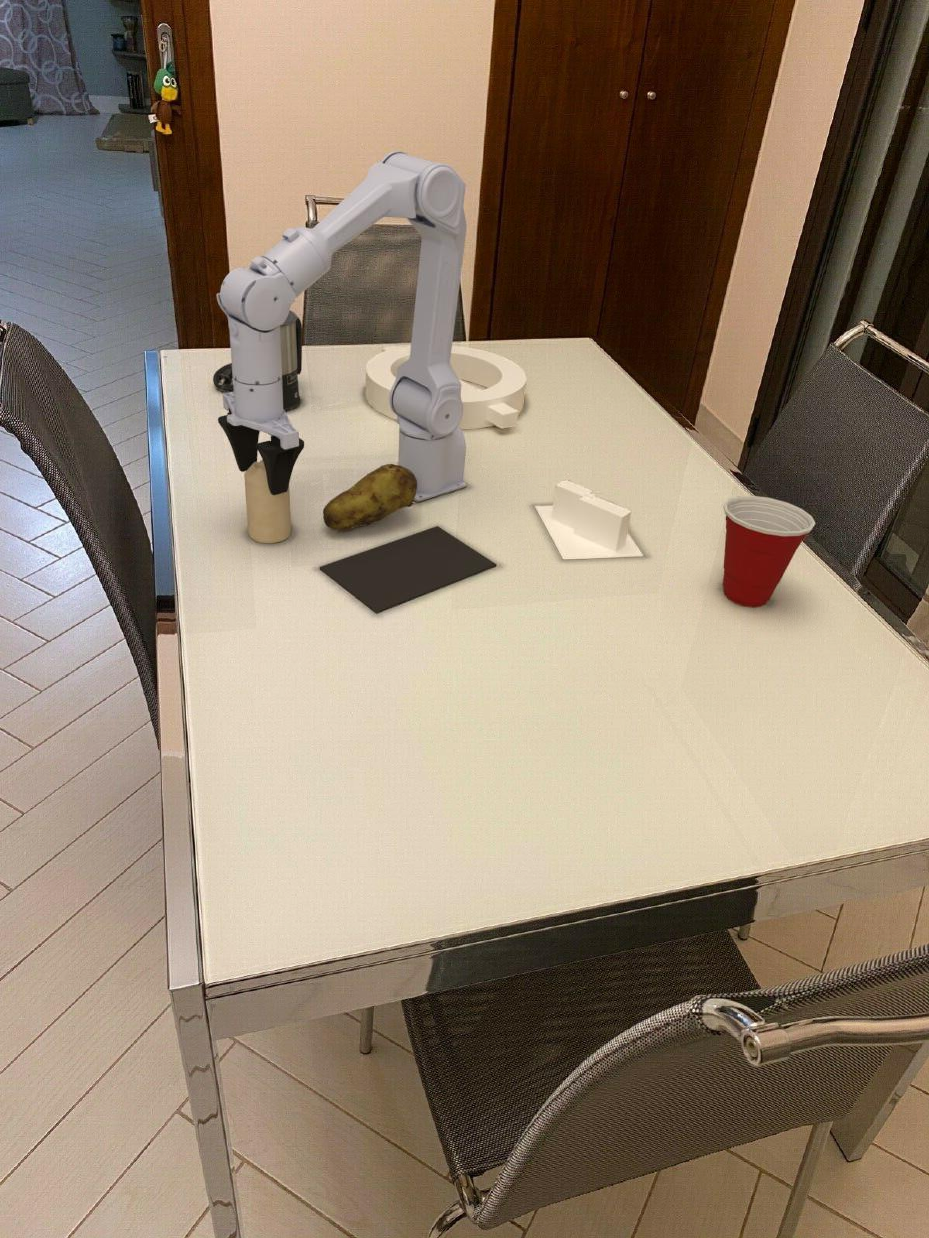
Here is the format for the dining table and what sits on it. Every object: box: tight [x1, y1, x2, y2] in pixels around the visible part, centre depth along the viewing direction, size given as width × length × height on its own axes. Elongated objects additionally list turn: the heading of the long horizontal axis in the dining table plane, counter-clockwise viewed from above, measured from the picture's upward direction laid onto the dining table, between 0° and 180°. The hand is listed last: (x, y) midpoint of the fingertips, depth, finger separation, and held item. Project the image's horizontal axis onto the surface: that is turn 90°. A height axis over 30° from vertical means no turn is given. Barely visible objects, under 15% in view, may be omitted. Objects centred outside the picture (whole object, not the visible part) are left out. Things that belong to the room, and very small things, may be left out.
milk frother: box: [212, 309, 303, 412], centre depth 157 cm, size 14×16×15 cm
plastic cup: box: [722, 495, 817, 608], centre depth 116 cm, size 11×11×12 cm
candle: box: [243, 459, 292, 544], centre depth 120 cm, size 6×6×10 cm
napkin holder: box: [534, 479, 644, 560], centre depth 129 cm, size 15×11×6 cm
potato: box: [322, 463, 417, 532], centre depth 125 cm, size 8×13×8 cm, turn 102°
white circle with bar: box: [365, 344, 527, 430], centre depth 166 cm, size 28×28×5 cm
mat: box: [319, 525, 498, 614], centre depth 119 cm, size 19×12×1 cm, turn 130°
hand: (263, 480), depth 119 cm, fingers open, 7 cm apart
